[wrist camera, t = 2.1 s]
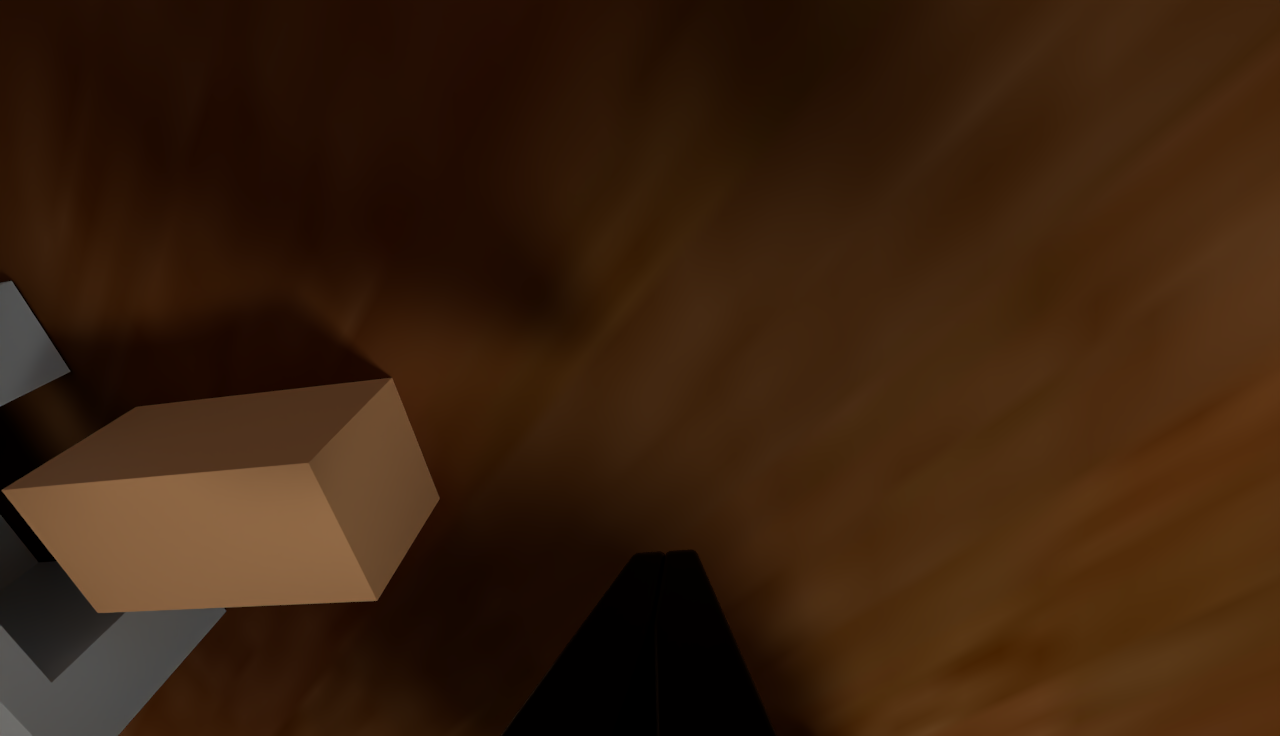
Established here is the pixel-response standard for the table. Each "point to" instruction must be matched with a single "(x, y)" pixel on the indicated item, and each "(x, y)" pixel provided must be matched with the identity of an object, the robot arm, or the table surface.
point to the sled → (70, 603)
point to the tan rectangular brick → (236, 500)
